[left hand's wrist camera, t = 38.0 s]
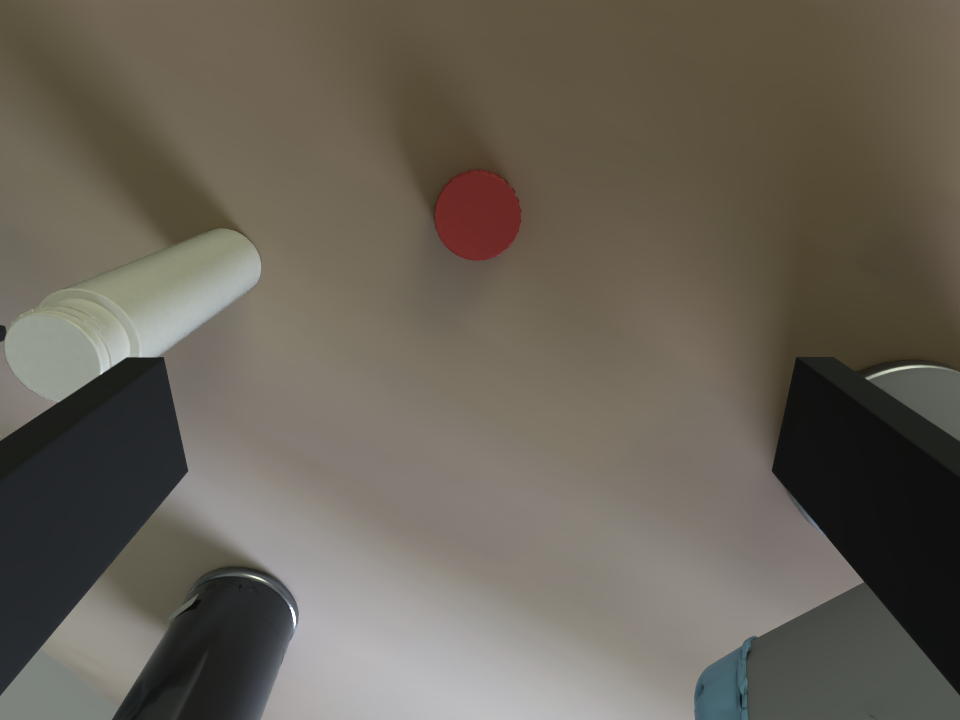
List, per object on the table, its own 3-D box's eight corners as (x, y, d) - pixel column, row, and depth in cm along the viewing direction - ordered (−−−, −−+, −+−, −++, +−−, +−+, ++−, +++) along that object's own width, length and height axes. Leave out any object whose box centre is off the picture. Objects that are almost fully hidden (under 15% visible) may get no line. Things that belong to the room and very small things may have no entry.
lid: (534, 227, 39) (537, 234, 37) (463, 268, 40) (462, 277, 38) (493, 152, 37) (494, 153, 35) (420, 197, 38) (416, 201, 36)
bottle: (183, 233, 39) (-29, 312, 23) (250, 223, 39) (85, 296, 23) (204, 299, 41) (22, 417, 24) (269, 290, 40) (128, 403, 24)
